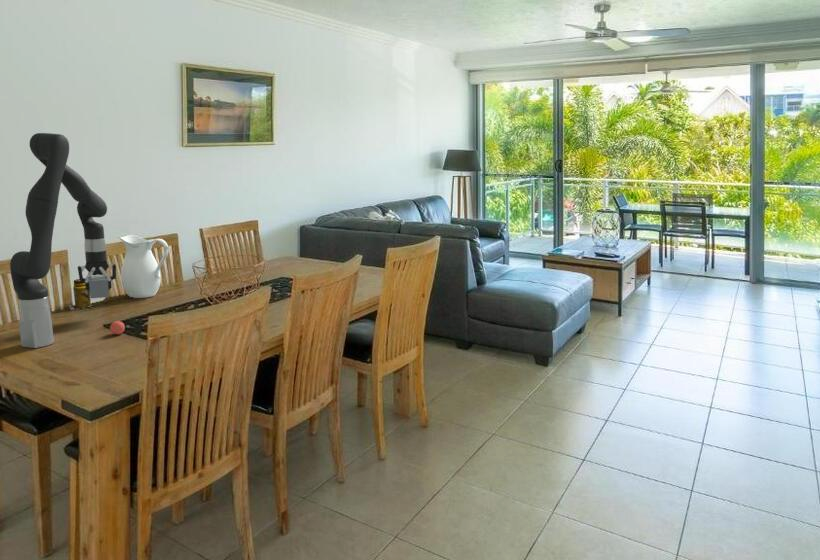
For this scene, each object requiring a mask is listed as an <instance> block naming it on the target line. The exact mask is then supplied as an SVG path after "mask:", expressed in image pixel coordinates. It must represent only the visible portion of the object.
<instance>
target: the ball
mask: <svg viewBox="0 0 820 560" xmlns="http://www.w3.org/2000/svg"><path fill="white" fill-rule="evenodd" d="M125 327H126V326H125V323H123V322H122V321H119V320H116V321H114V322H112V323H111V324H110V327H109V329H110V332H111V334H112V335H113V334H114V335H121V334H122V333H124V331H125V329H126V328H125Z"/></svg>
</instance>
